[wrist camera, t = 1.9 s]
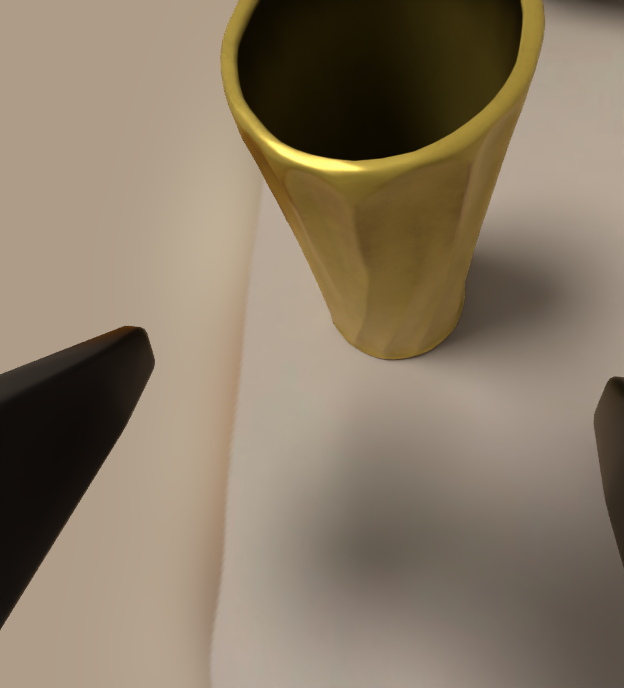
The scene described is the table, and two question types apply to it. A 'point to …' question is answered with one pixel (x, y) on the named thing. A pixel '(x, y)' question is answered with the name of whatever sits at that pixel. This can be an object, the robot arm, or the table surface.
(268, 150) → the vase
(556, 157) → the table surface
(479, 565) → the table surface
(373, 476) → the table surface
